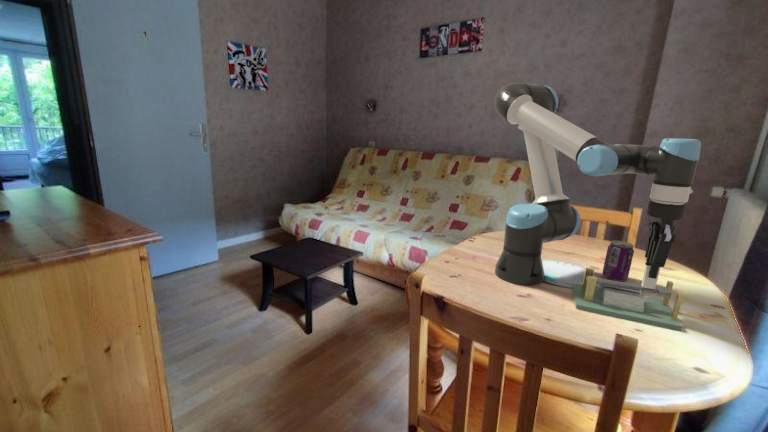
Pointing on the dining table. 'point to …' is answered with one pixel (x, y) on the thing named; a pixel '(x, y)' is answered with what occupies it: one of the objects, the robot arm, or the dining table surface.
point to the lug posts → (590, 287)
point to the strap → (633, 286)
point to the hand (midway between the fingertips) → (648, 287)
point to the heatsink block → (622, 298)
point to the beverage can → (618, 260)
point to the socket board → (651, 314)
